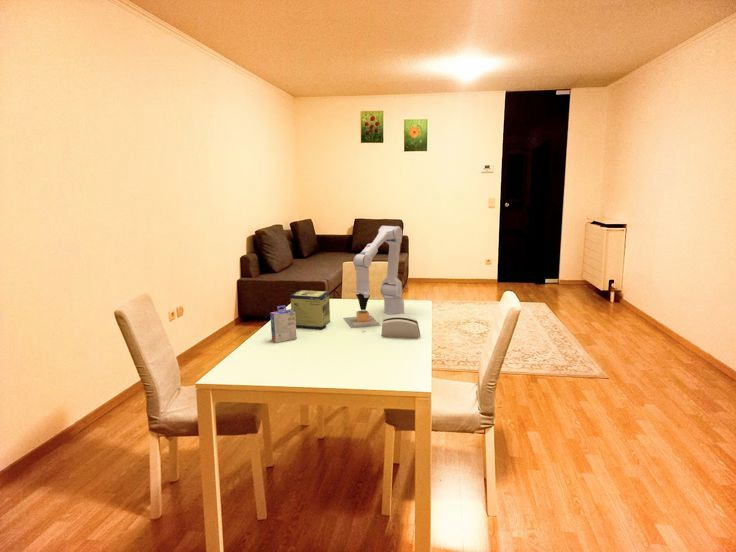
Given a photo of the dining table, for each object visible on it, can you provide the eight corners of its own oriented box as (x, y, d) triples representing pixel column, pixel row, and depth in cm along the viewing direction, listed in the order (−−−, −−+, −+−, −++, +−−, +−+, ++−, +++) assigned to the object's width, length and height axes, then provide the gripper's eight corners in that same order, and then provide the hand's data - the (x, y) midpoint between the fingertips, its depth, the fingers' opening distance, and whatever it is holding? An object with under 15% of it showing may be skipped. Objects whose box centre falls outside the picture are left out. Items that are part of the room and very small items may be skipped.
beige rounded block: (420, 334, 223) (420, 315, 218) (419, 340, 219) (418, 321, 214) (382, 332, 227) (381, 313, 222) (381, 338, 223) (379, 320, 218)
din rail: (373, 321, 241) (373, 317, 240) (376, 325, 234) (376, 321, 234) (350, 322, 238) (350, 319, 238) (353, 327, 232) (353, 323, 231)
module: (367, 321, 239) (366, 309, 237) (369, 323, 235) (369, 312, 234) (356, 322, 237) (356, 310, 236) (358, 324, 233) (358, 313, 232)
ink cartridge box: (292, 335, 224) (290, 303, 221) (297, 339, 219) (296, 306, 216) (270, 339, 219) (269, 306, 216) (275, 343, 214) (273, 309, 211)
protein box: (323, 330, 231) (321, 296, 228) (291, 327, 236) (289, 294, 233) (330, 323, 241) (329, 291, 238) (300, 321, 246) (298, 289, 243)
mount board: (371, 317, 250) (371, 315, 250) (381, 327, 233) (380, 325, 233) (342, 319, 247) (342, 317, 247) (350, 330, 230) (350, 328, 230)
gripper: (350, 278, 238) (351, 306, 241) (357, 284, 224) (358, 314, 227) (365, 277, 240) (365, 305, 242) (373, 283, 226) (373, 313, 229)
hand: (363, 309), depth 235 cm, fingers closed
